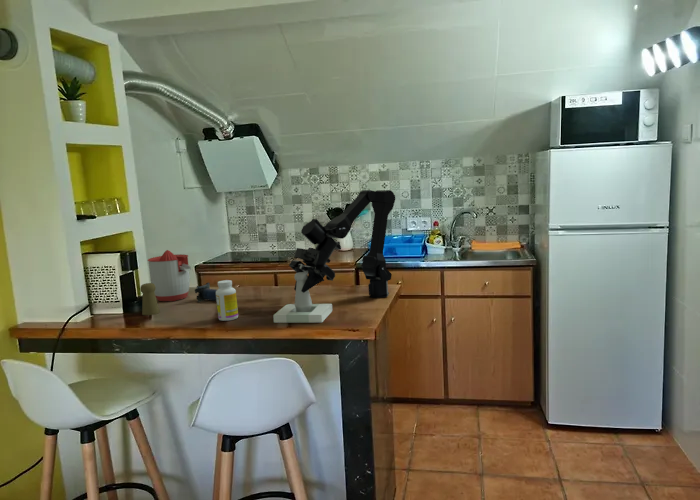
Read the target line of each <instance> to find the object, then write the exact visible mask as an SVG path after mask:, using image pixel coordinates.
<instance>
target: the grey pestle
mask: <svg viewBox="0 0 700 500" xmlns="http://www.w3.org/2000/svg"><path fill="white" fill-rule="evenodd" d="M307 278H308V275H307V273H305V272H299V273H297V272H295V274H294V280H295V281H296V280H297V283H296V282H295V284H296V291H295V296H294V304H295V307H296V309H297V311H298V312H310V309H311V307H312V304H313V302H312V301H313V300H312V298H311V294H310V289H309V290H307V291H306V292H304V293H303V292H302V291H301V290H302V288H303V286H304V284H305V282H306V280H307Z"/></svg>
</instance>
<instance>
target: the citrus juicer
mask: <svg viewBox="0 0 700 500" xmlns="http://www.w3.org/2000/svg"><path fill="white" fill-rule="evenodd" d="M147 262H148V268H149V269H148V271H149V278H150V283H153V284H154V285H155V287H156V289H155V296H156V300H157V301H159V302H176V301H178V300H182V299H185V298H187V297H188V295H189V292H190V283H191V278H190V271H191V270H192V267H191V266H190V265H189V255H188V254H174V253H173V252H171V251H170V250H168V249H166V250H165V251H164V252H163V254H162V255H159V256H153V257H150V258H148V259H147Z"/></svg>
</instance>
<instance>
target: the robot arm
mask: <svg viewBox="0 0 700 500" xmlns="http://www.w3.org/2000/svg"><path fill="white" fill-rule="evenodd" d="M395 201H396V195H395V193H394V192H393V190H390V189H389V190H388V189H387V190H384V189H383V190H371V189H364V190H361V191H359V193H358V195H357V196H356V197H355V199H354V200H353V201H352V202H350V204H349V205H348V206H347V207H346V208H345V210H343V212H342V213H341V214H339V215H338V216H335V217H334V218H332V219H331V220H329V221H328V222H327V223H326V225H324V226H323V225H322V224H321V222H320V221H319V220H318V219H317V218H311V221H309V222H307V223H306V224H305V225H303V226H302V228H301V231H300V232H301V235H303V236H304V237H305V239H307V240H308V241H309V242H310V243H311V245H316V246H315V248H314V247H308V248H307V249H305V248H301V247H300V248H299V247H296V249H295V252H294V256H293V257H294V258H295V259H294V260H291V261H290V263H289V264H288V267H290V269H292V270H293V271H295V273H299V272H305V273H307V275H308V278H307V280H306V282H305V284H304V286H303V288H302V290H301V291H302V292H303V293H304V292H306V291H307V290H309V291H310V289H311V288H313V287H315V286H317V285H319V284H320V283H322V282H324V281H325V280H327V281H332V282H333V281H334V279H335V278H336V272H335V271H334V270H333V269H332V268H331V267H330V266H329V265H328V264H330V262H331V259H330V257H331V256H332V254H333V252H334V251H335V250H340V251H341V249H342V246H341V242H340V241H337V240H335V239H340V240H341V239H345V238H346V237H347V236H348V234H349V233H350V231H351V229H352V225H353V222H354V221H355V220H356V219H357V218H358V217H359V215H360V214H361V213H362V212H363V211H365V208H366V207H368V205H369V204H370V203H371V207H372V209H373V212H374V216H373V217H374V218H373V223H372V224H373V225H372V232H371V240H370V244H369V245H370V247H369V252H368V253H367V255H363V257H362V263H361V269H362V272H363V274H364V276H365V280H369V283H368V295H369V298H370V299H371V298H388V296H389V295H390V292H389V285H388V282H389V281H391V280H392V277H393V275H392V273H391V272H390V271H389V269H387V264H386V263H387V262H386V258H385V255H384V247H385V240H386V234H387V233H386V232H387V225H388V217H389V215H390V213H391V212H392V210H393V209H394V206H395V203H396V202H395ZM296 259H297V260H296ZM298 259H300V260H298ZM325 277H326V279H324V278H325ZM296 283H297V280H295V285H294V291H295V292H296Z"/></svg>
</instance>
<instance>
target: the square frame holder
mask: <svg viewBox="0 0 700 500" xmlns="http://www.w3.org/2000/svg"><path fill="white" fill-rule="evenodd" d="M332 312H333V304H332V303H312V307H311V309H310V312H298V311H297V309H296V307H295V303H287V304H286V305H284V306H283V307H282V308H281V309H279V310H278V311H277V312H276V313H274V314H273V315H272V316H273V323H278V324H279V323H280V324H281V323H284V324H285V323H287V324H289V323H294V324H295V323H297V324H298V323H302V324H303V323H307V324H308V323H314V324H315V323H323V322H324V321H325V319H327V318H328V316H329V315H331V314H332Z"/></svg>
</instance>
